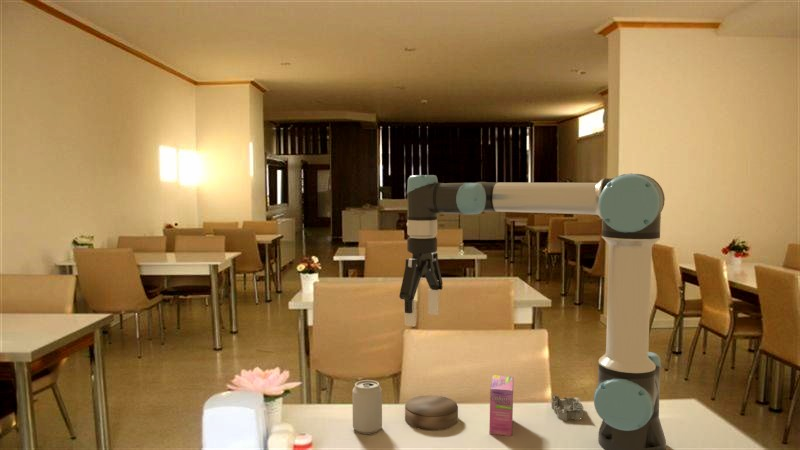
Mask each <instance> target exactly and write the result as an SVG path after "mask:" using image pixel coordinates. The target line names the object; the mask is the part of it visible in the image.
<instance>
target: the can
mask: <svg viewBox="0 0 800 450" xmlns="http://www.w3.org/2000/svg"><path fill="white" fill-rule="evenodd" d="M351 397H352V399H351V400H352V428H353V429H354V430H355V431H356V432H357V433H358V434H363V435H370V434H375V433H377V432H378V431H379V430H380V429H381V428H382V427H383V389H382V387H381V386H380V383H379V382H378V381H376V380H374V379H373V380H371V379H364V380H359V381H356V382H355V383H354V387H353V388H352V396H351Z"/></svg>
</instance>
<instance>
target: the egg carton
mask: <svg viewBox="0 0 800 450" xmlns="http://www.w3.org/2000/svg"><path fill="white" fill-rule="evenodd" d="M550 396H551V398H552V399H551V402H550V404H551V409H552V410H553V412H554V413H555V414H556V415H557V416H556V418H557V419H559V420H562V421H568V420H570V419H569V418H573V419H572V420H574V419H576V420H575V421H581V419H580V418H583V419H584V409H585V407H584V406H583V403H581V400H580V398H579V397H571V396H569V397H566V396H564V397H563V399H561V398H560V396H559V395H557V394H555V395H554V394H553V392H552V393H551V395H550Z"/></svg>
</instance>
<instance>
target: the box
mask: <svg viewBox="0 0 800 450" xmlns="http://www.w3.org/2000/svg"><path fill="white" fill-rule="evenodd" d="M514 380H515V379H514V376H508V375H507V376H506V375H495V374H494V375H493V374H492V376H491V382H490V389H489V390H490V393H489V426H488V427H489V429H488V430H489V431H488V433H489V435H496V436H497V435H498V436H507V437H508V436H509V437H510V436H513V435H512V434H513V419H514V418H513V416H514V415H513V414H514V413H513V408H514V406H513V404H514Z"/></svg>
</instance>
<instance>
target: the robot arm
mask: <svg viewBox="0 0 800 450" xmlns="http://www.w3.org/2000/svg"><path fill="white" fill-rule="evenodd" d="M406 196H407V197H406V198H407V199H406V200H407V202H406V203H407V218H406V219H407V220H406V221H407V222H406V227H407V228H406V229H407V233H406V234H407V235H408V236H409V237H408V238H407V239H406V241H407V242H406V246H407V247H406V249H407V253H411V254H412V257H411V258H410V257H409V258H406V259H405V265H404V266H405V267H404V272H403V278H402V282H401V287H400V291H399V295H398V296H399V299H400V300H404V326H406V327H416V326H417V324H416V323H417V321H416V320H417V317H416V316H417V310H416V309H417V304H416V303H417V301H416V300H417V299H415V296H416V293H417V291H418V288H419V284H420V281H421V278H422V277H425V279H426V282H427V284H428V287H429V288H428V289H427V290H428V291H427V297H428V298H427V314H428V315H433V316H434V315H435V316H438V315H439V313H440V312H439V308H440V307H439V305H440V304H439V299H440V297H439V295H440V294H439V293H440V292H439V291H441V290H443V278H442V274H441V269H440V265H439V258H438V256H439V254H438V252H437V251H438V237H436V236H437V235H438V214H447V215H449V214H451V215H465V216H469V215H479V214H480V215H481V213H483V212H488V213H490V212H491V213H493V212H501V213H502V212H503V213H504V212H505V213H533V214H534V213H537V214H567V215H594V216H595V215H597V216H598V217H599V218H600V219H601V238H602V239H603V240H604V241H605V242H606V243H607V244H608V265H607V266H608V267H607V268H608V269H607V295H606V296H607V298H606V299H607V300H606V302H607V303H606V307H607V308H606V338H605V339H606V340H605V341H606V342H605V345H606V346H605V353H604V354H603V355H602V356H600V357H599V359H598V363H597V364H598V365H597V366H598V367H597V387H596V389H595V390H594V394H593V405H594V406H593V407H594V409H595V411H596V413H597V415H598V417H599V418H600V419H601V420H602V422H601V424H600V427H599V429H598V436H597V437H598V438H597V439H598V444H599V445H600V446H601V447H602V448H603V449H605V450H667V440H666V436H665V432H664V429H663V426H662V423H661V420H660V419H661V418H660V391H661V390H660V388H661V369H662V365H661V364H662V363H661V358H660V357H661V356H659V355H658V354H657V353H655V352H652V351H649V344H650V342H649V341H650V314H651V286H652V285H651V279H652V256H653V255H652V250H653V246H654V245H655V244H656V243H657V242H658V241H659V240H660V239H661V219H662V216H661V215H662V211H663V210H664V206H665V201H666V198H665V192H664V191H663V188H662V186H661V185H660V184H659V182H658V181H657V180H655V179H654V178H653V177H651V176H648V175H645V174H643V173H641V174H640V173H623V174H621V175H618V176H616V177H614V178H613V177H612V178H605V177H604V178H601V180H599V181H598V182H504V181H503V182H492V181H491V182H487V181H477V182H447V183H444V182H439V181H438V177H437V175H436V174H435V175H434V174H429V175H428V174H425V175H424V174H422V175H421V174H415V175H414V174H412V175H409V177H408V178H407V190H406Z"/></svg>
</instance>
